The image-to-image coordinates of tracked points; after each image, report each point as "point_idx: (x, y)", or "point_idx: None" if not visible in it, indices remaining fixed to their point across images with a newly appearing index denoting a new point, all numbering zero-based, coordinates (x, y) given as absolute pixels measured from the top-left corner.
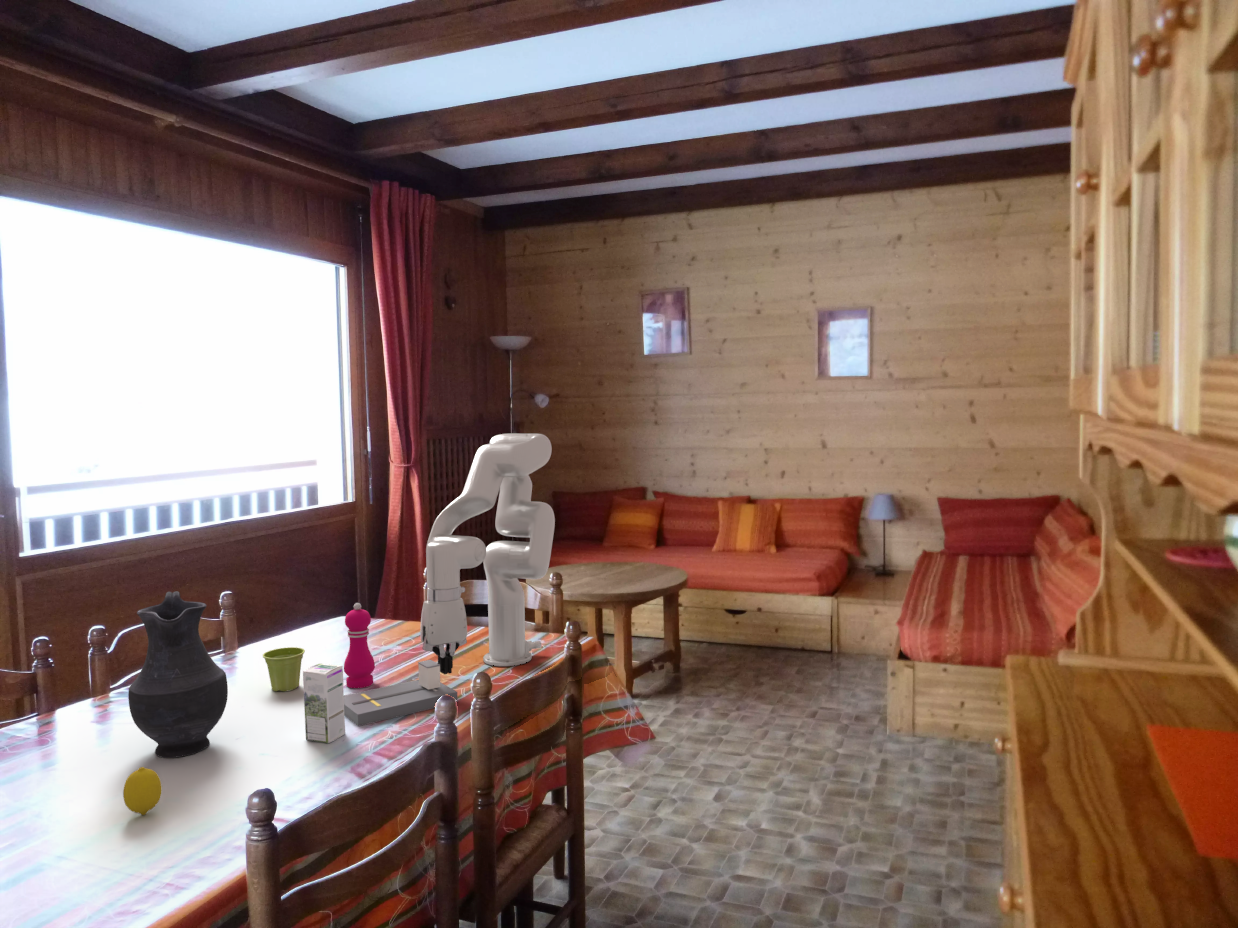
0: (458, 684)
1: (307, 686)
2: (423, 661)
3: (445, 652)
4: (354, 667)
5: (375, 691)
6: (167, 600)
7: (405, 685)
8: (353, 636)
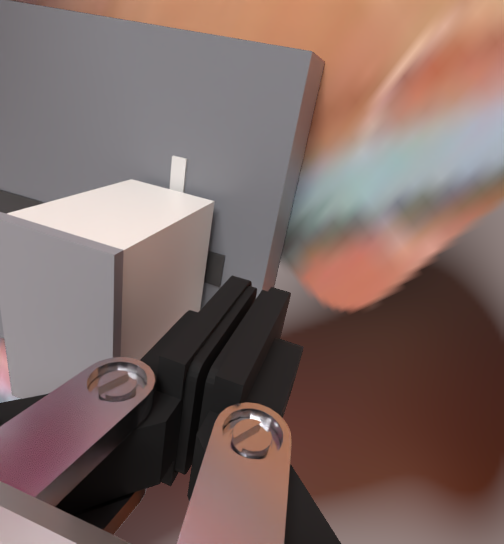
0: (497, 174)
1: None
2: (35, 245)
3: (196, 448)
4: None
5: None
6: None
7: (80, 90)
8: None
